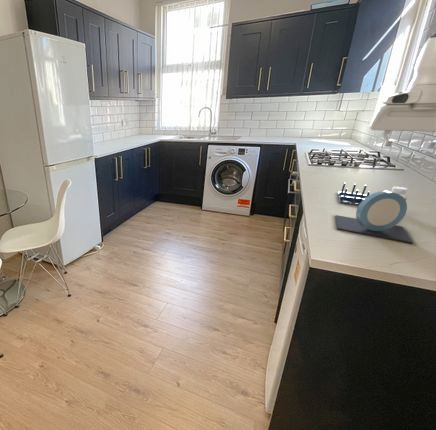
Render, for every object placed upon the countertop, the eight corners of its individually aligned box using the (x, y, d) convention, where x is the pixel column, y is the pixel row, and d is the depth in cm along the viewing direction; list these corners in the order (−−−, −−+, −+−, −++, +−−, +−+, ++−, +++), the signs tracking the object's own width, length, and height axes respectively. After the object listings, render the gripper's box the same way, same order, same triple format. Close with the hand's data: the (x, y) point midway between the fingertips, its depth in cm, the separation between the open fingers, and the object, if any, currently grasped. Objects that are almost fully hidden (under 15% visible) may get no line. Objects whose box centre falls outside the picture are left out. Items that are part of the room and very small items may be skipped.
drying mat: (401, 228, 94) (402, 226, 94) (411, 244, 83) (412, 242, 83) (335, 216, 103) (335, 215, 103) (336, 229, 93) (337, 228, 92)
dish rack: (365, 197, 124) (370, 184, 121) (370, 208, 111) (376, 193, 109) (337, 193, 129) (341, 181, 127) (339, 203, 117) (343, 189, 114)
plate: (347, 211, 91) (385, 182, 86) (371, 236, 93) (410, 208, 88) (351, 213, 89) (391, 184, 84) (376, 238, 91) (416, 211, 87)
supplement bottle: (404, 214, 105) (414, 189, 101) (392, 215, 104) (402, 190, 100) (388, 209, 110) (398, 185, 106) (377, 210, 109) (386, 186, 105)
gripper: (478, 95, 75) (455, 148, 80) (377, 97, 85) (363, 144, 90) (489, 95, 70) (464, 151, 75) (380, 97, 80) (365, 146, 85)
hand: (408, 147), depth 83 cm, fingers open, 8 cm apart
